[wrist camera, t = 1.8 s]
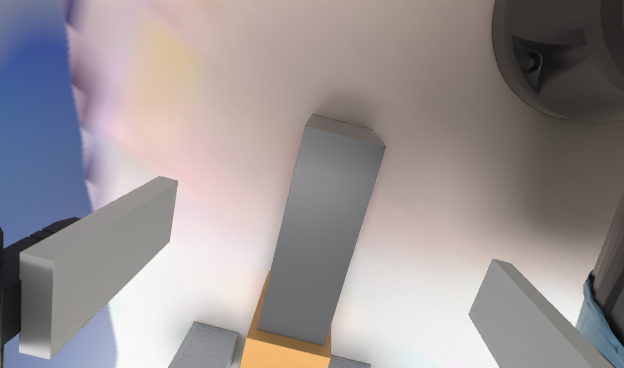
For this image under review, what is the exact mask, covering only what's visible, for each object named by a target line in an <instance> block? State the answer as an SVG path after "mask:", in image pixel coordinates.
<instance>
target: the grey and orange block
mask: <svg viewBox="0 0 624 368" xmlns="http://www.w3.org/2000/svg"><path fill="white" fill-rule="evenodd" d="M385 148H386V146H385V145H384V144H383V142H382V141H381V140H380V139H379V138H378V136H377V135H376V134H375V133H374V132H373V130H372V129H368V128H364V127H360V126H356V125H353V124H349V123H345V122H341V121H337V120H333V119H329V118H325V117H321V116H317V115H313V114H312V116H311V117H310V119H309V121H308V122H307V124H306V126H305V129H304V133H303V137H302V142H301V146H300V150H299V154H298V158H297V163H296V167H295V171H294V175H293V179H292V183H291V188H290V192H289V196H288V200H287V204H286V208H285V213H284V217H283V221H282V225H281V229H280V234H279V238H278V242H277V246H276V250H275V254H274V259H273V263H272V267H271V271H269V272H268V275H267V278H266V281H265V284H264V287H263V290H262V293H261V296H260V299H259V302H258V305H257V308H256V311H255V314H254V317H253V320H252V323H251V326H250V329H249V332H248V335H247V338H246V342H245V346H244V351H243V355H242V359H241V364H240V368H328V365H329V362H330V359H331V322H332V319H333V316H334V312H335V309H336V306H337V303H338V300H339V296H340V293H341V290H342V287H343V283H344V280H345V277H346V274H347V270H348V267H349V264H350V261H351V258H352V254H353V251H354V248H355V245H356V241H357V238H358V235H359V232H360V229H361V225H362V222H363V219H364V216H365V212H366V209H367V206H368V203H369V200H370V196H371V193H372V190H373V187H374V183H375V180H376V177H377V174H378V170H379V167H380V164H381V161H382V158H383V154H384V151H385Z"/></svg>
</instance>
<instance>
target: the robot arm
mask: <svg viewBox="0 0 624 368" xmlns="http://www.w3.org/2000/svg"><path fill="white" fill-rule="evenodd" d="M492 38H493V47H494V52H495V56H496V60H497V63H498V66H499V69H500V71H501V73H502V75H503V77H504V79H505V80H506V82H507V83H508V85H509V86H510V88H511V89H512V90H513V91H514V93H515V94H516V95H517V96H518V97H519V98H521V99H522V100H523V101H524V102H525V103H527V104H528V105H529V106H531V107H533V108H534V109H536V110H538V111H540V112H542V113H545V114H547V115H550V116H554V117H558V118H562V119H569V120H575V121H582V122H611V121H619V120H624V0H496V3H495V8H494V13H493V22H492ZM177 185H178V180H174V179H169V178H165V177H161V176H158V177H157V178H155V179H153V180H151V181H149V182H148V183H146V184H144V185H142V186H140V187H138V188H137V189H135V190H133V191H131V192H129V193H128V194H126V195H124V196H122V197H120V198H118V199H117V200H115V201H113V202H111V203H109V204H108V205H106V206H104V207H102V208H100V209H98V210H97V211H95V212H93V213H91V214H89V215H88V216H86V217H84V218H82V219H81V218H76V217H74V218H70V219H66V220H61V221H57V222H55V223H53V224H51V225H49V226H47V227H45V228H43V229H42V231H37V232H36V233H33V234H31V235H30V237H26V238H24V239H22V240H20V241H18V242H16V243H14V244H12V245H10V246H8V247H6V248H4V249H3V231H2V229H1V227H0V368H4V344H6V343H7V342H8V341H9V340H11V339H12V338H13V337H14V336H16V335H17V334H18V333H19V352H20V353H25V354H29V355H33V356H38V357H41V358H46V359H51V358H52V357H53V356H54V355H55V354H56V353H57V352H58V351H59V350H60V349H61V348H62V347H63V346H64V345H65V344H66V343H67V342H68V341H69V340H70V339H71V338H72V337H74V335H76V333H78V331H80V330H81V329H82V328H83V327H84V326H85V325H86V324H87V323H88V322H89V321H90V320H91V319H92V318H93V317H94V316H95V315H96V314H97V313H98V312H99V311H100V310H101V309H102V308H103V307H104V306H105V305H106V304H107V303H108V302H109V301H110V300H111V299H112V298H113V297H114V296H115V295H116V294H117V293H118V292H119V291H120V290H121V289H122V288H123V287H124V286H125V285H126V284H127V283H128V282H129V281H130V280H131V279H132V278H133V277H134V276H135V275H136V274H137V273H138V272H139V271H140V270H141V269H142V268H143V267H144V266H145V265H146V264H147V263H148V262H149V261H150V260H151V259H152V258H153V257H154V256H155V255H156V254H157V253H158V252H159V251H160V250H161V249H162V248H163V247H164V246H165V245H166V244H167V243H168V242H169V241H170V235H171V228H172V220H173V213H174V206H175V199H176V192H177ZM583 294H584V297H585V298H584V301H583V304H582V308H581V311H580V314H579V318H578V321H577V324H576V327H574V326H573V325H572V324H571V323H570V322H569V321H568V320H567V319H566V318H565V317H564V316H563V315H562V314H561V313H560V312H559V311H558V310H557V309H556V308H555V307H554V306H553V305H552V304H551V303H550V302H549V301H548V300H547V299H546V298H545V297H544V296H543V295H542V294H541V293H540V292H539V291H538V290H537V289H536V288H535V287H534V286H533V285H532V284H531V283H530V282H529V281H528V280H527V279H526V278H525V277H524V276H523V275H522V274H521V273H520V272H519V271H518V270H517V269H516V268H515V267H514V266H513V265H512V264H511V263H508V262H504V261H500V260H496V259H492V262H491V264H490V266H489V268H488V271H487V273H486V275H485V278H484V280H483V282H482V284H481V287H480V289H479V291H478V294H477V296H476V298H475V301H474V303H473V305H472V307H471V310H470V312H469V314H468V315H469V316H470V318H471V320H472V322H473V323H474V325H475V327H476V328H477V330H478V332H479V333H480V335H481V337H482V339H483V340H484V342H485V344H486V345H487V347H488V349H489V350H490V352H491V354H492V356H493V357H494V359H495V361H496V362H497V364H498V366H499V367H500V368H624V192H623V195H622V197H621V200H620V203H619V205H618V208H617V210H616V213H615V216H614V218H613V221H612V224H611V226H610V229H609V231H608V234H607V237H606V239H605V242H604V244H603V247H602V250H601V252H600V255H599V257H598V260H597V263H596V265H595V268H594V269H593V270H592V271H591V272H590V273H589V275H588V278H587V279H586V281H585V283H584V285H583Z"/></svg>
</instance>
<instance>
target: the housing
mask: <svg viewBox="0 0 624 368" xmlns="http://www.w3.org/2000/svg"><path fill="white" fill-rule="evenodd" d="M237 337H238V332H234V331H230V330H225V329H221V328H217V327H213V326H209V325H205V324H201V323H197V322H194V323H193V325H192V327H191V329H190V330H189V332H188V334H187V336H186V337H185V339H184V341H183V343H182V344H181V346H180V348H179V350H178V351H177V353H176V355H175V356H174V358H173V360H172V362H171V363H170V365H169V367H168V368H230V367H231V364H232V360H233V355H234V351H235V346H236V342H237ZM328 368H371V367H370V365H369V364H365V363H361V362H357V361H353V360H348V359H344V358H340V357H336V356H332V355H331V359H330V362H329V365H328Z"/></svg>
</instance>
